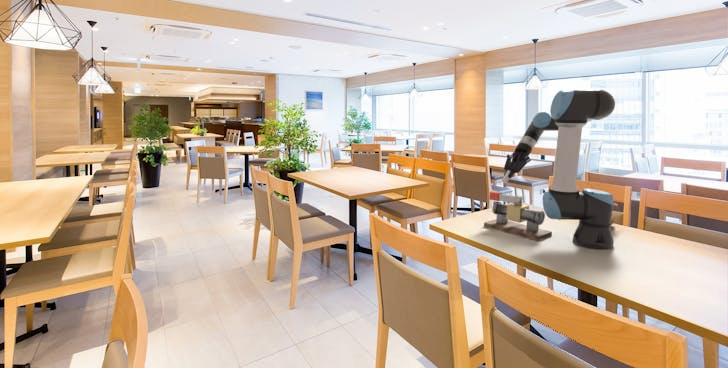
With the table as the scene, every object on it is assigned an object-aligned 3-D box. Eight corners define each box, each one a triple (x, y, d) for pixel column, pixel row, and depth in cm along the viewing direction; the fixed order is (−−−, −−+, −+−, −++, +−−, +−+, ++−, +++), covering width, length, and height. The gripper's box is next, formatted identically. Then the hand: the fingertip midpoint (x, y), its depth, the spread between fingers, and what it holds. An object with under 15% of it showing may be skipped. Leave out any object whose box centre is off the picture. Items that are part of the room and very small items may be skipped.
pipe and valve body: (543, 231, 178) (545, 209, 176) (535, 234, 174) (537, 211, 172) (499, 220, 197) (501, 200, 195) (491, 222, 193) (492, 202, 191)
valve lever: (523, 205, 183) (524, 196, 182) (519, 206, 181) (519, 197, 180) (493, 198, 196) (493, 190, 196) (488, 199, 194) (489, 191, 194)
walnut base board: (551, 235, 178) (551, 231, 178) (537, 241, 171) (537, 236, 171) (498, 222, 200) (498, 218, 200) (483, 226, 193) (484, 222, 193)
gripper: (539, 152, 200) (518, 188, 194) (516, 150, 210) (495, 184, 204) (534, 142, 196) (512, 179, 189) (511, 141, 206) (490, 175, 200)
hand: (504, 181), depth 197 cm, fingers closed
